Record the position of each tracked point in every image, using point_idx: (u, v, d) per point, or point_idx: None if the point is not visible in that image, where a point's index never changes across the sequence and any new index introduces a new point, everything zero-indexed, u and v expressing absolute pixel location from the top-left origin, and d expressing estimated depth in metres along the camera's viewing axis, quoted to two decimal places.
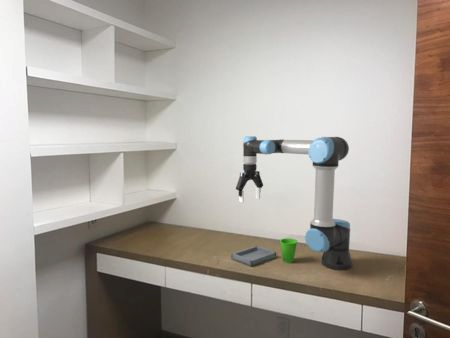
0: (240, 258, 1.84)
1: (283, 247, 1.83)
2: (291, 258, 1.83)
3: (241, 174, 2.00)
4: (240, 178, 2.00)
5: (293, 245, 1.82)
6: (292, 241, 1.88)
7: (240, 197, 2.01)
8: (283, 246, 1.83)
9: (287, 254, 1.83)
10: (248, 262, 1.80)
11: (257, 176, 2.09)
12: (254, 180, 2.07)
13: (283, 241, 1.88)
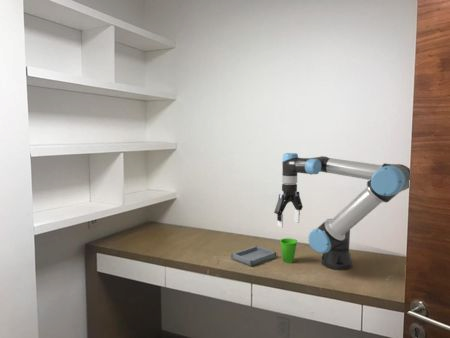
0: (240, 258, 1.84)
1: (283, 247, 1.83)
2: (291, 258, 1.83)
3: (280, 196, 1.78)
4: (279, 200, 1.78)
5: (293, 245, 1.82)
6: (292, 241, 1.88)
7: (279, 221, 1.79)
8: (283, 246, 1.83)
9: (287, 254, 1.83)
10: (248, 262, 1.80)
11: (296, 197, 1.87)
12: (293, 202, 1.85)
13: (283, 241, 1.88)
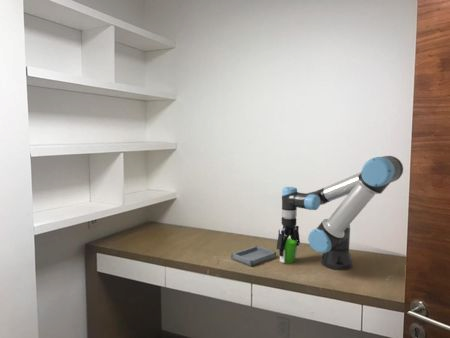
0: (240, 258, 1.84)
1: None
2: (291, 258, 1.83)
3: (280, 232, 1.80)
4: (280, 236, 1.80)
5: (293, 245, 1.82)
6: (292, 241, 1.88)
7: (281, 257, 1.83)
8: None
9: (287, 254, 1.83)
10: (248, 262, 1.80)
11: (295, 231, 1.88)
12: (292, 236, 1.86)
13: None
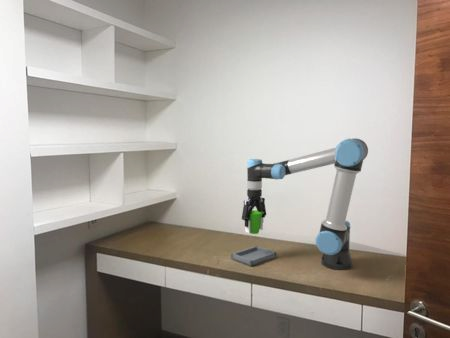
0: (240, 258, 1.84)
1: None
2: (256, 229, 1.86)
3: (245, 202, 1.83)
4: (245, 207, 1.83)
5: (258, 216, 1.85)
6: (258, 212, 1.91)
7: (246, 227, 1.85)
8: None
9: (252, 225, 1.85)
10: (248, 262, 1.80)
11: (261, 203, 1.91)
12: (258, 207, 1.89)
13: None
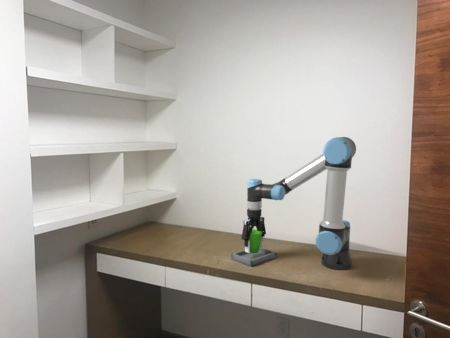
0: (240, 258, 1.84)
1: None
2: (256, 248, 1.87)
3: (245, 223, 1.84)
4: (244, 227, 1.84)
5: (258, 236, 1.86)
6: (258, 232, 1.92)
7: (246, 247, 1.87)
8: None
9: (252, 244, 1.87)
10: (248, 262, 1.80)
11: (261, 222, 1.92)
12: (257, 227, 1.90)
13: None
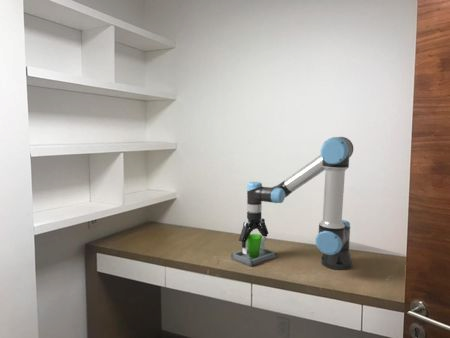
0: (240, 258, 1.84)
1: (248, 242, 1.87)
2: (256, 253, 1.88)
3: (245, 224, 1.84)
4: (244, 228, 1.84)
5: (257, 240, 1.86)
6: (258, 236, 1.92)
7: (244, 248, 1.85)
8: (248, 241, 1.87)
9: (252, 249, 1.87)
10: (248, 262, 1.80)
11: (262, 224, 1.93)
12: (259, 229, 1.91)
13: (249, 237, 1.93)
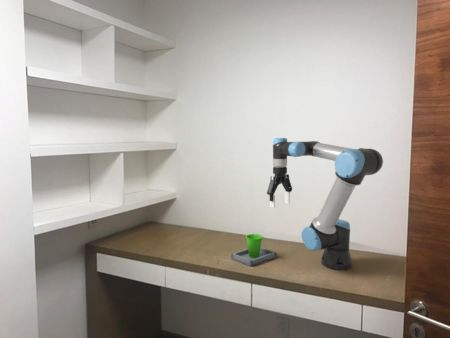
0: (240, 258, 1.84)
1: (248, 242, 1.87)
2: (256, 253, 1.88)
3: (272, 178, 1.90)
4: (271, 182, 1.90)
5: (258, 240, 1.86)
6: (258, 236, 1.92)
7: (271, 202, 1.91)
8: (248, 241, 1.87)
9: (252, 249, 1.87)
10: (248, 262, 1.80)
11: (286, 180, 1.99)
12: (284, 184, 1.98)
13: (249, 237, 1.93)
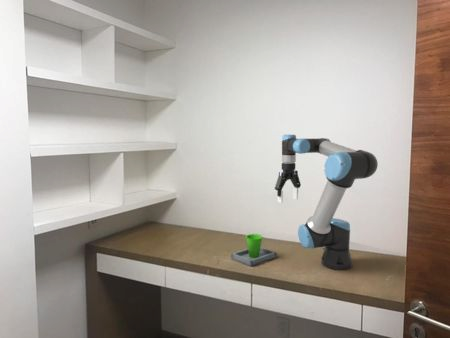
0: (240, 258, 1.84)
1: (248, 242, 1.87)
2: (256, 253, 1.88)
3: (280, 173, 1.93)
4: (279, 178, 1.93)
5: (258, 240, 1.86)
6: (258, 236, 1.92)
7: (279, 197, 1.95)
8: (248, 241, 1.87)
9: (252, 249, 1.87)
10: (248, 262, 1.80)
11: (295, 176, 2.02)
12: (292, 180, 2.01)
13: (249, 237, 1.93)
